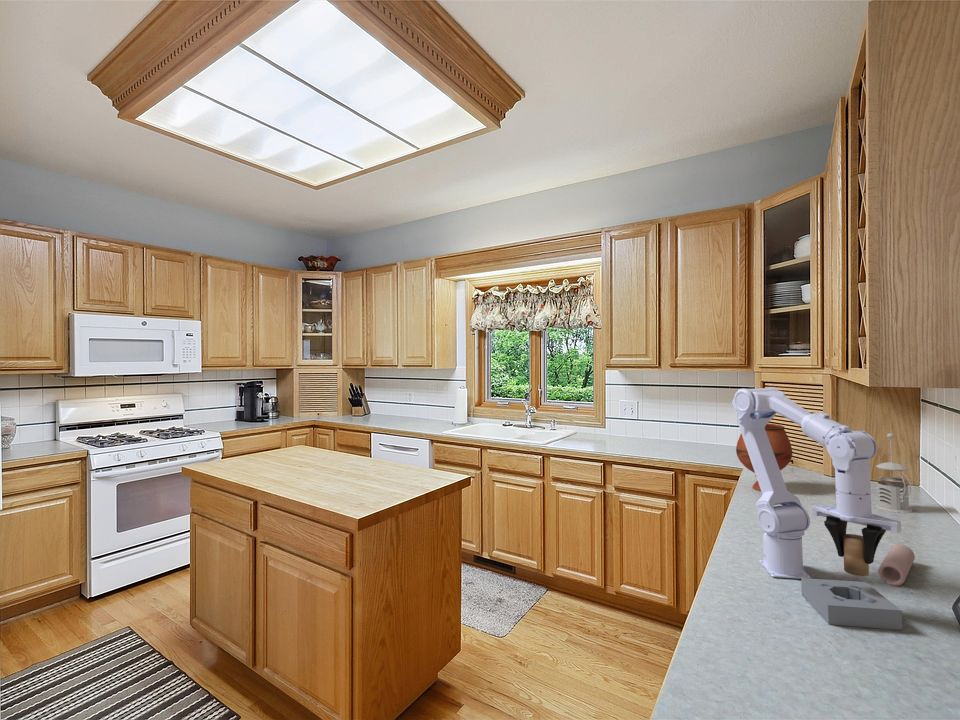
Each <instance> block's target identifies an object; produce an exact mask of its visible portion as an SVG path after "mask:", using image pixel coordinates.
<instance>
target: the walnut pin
mask: <svg viewBox="0 0 960 720" xmlns="http://www.w3.org/2000/svg"><path fill="white" fill-rule="evenodd" d="M843 553H844V556H843V571H844V572H845V573H847V574H848V575H849V574H850V575H853V576H856V577H857V576H858V577H869V576H870V566H869V565H870V564H867V563H865V546H864V539H863V535H861V534H860V535H859V534H854V533H846V534H844V535H843Z"/></svg>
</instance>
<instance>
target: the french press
mask: <svg viewBox="0 0 960 720" xmlns="http://www.w3.org/2000/svg"><path fill="white" fill-rule="evenodd" d="M886 437H887V438H888V437H889V439H890V441H889V443H890V461H889V462H886V461H885V462H882V463H879V464H876V465H875V467H876V468H877V469H879V470H885V471H891V476H880V477H878V480H879V481H877V493H878V494H877V496H878V498H877V500H878V503H876V504H875V505H876V507H878V508H879V509H878V510H880V509H883V510H888V511H893V512H892V513H895V512H900V513H899V514H910V513H909V512H912V510H913V509H912V508H911V507H909V506H910V505H909V504H910V501H909V499H910V498H909V496H910V495H911V492H912V482H911V480H910V479H909V477H908V475H906V474H905V473H904V474H903V475H901V474H899V473H897V477H894V475H893V474H894V473H893V472H906V471H908V469H909V468H908V467H907V466H905V465H903V464H901V463H897V462H893V452H892V451H893V450H892V448H893V447H892V438H895V434H894V433H893V432H890V433H889V432H888V434H886ZM905 477H906V478H907V480H908V483H909V485H908V484H906V483H907V480H906V479H904V478H905ZM901 489H902V490H901ZM901 493H902V494H901ZM901 497H902V498H901ZM883 510H882V511H883ZM888 511H887V512H888ZM912 513H913V512H912Z"/></svg>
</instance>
